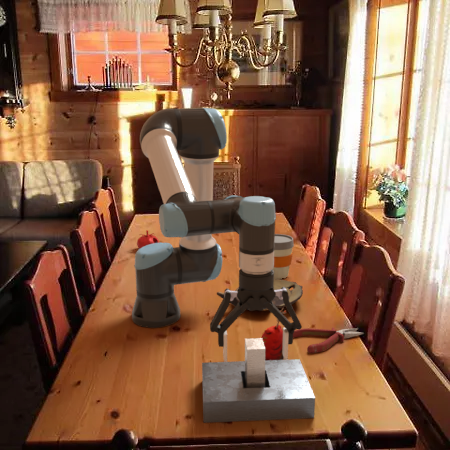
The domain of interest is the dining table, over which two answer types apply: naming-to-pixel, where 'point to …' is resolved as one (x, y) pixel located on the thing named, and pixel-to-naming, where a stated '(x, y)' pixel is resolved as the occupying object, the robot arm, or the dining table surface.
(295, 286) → the broken bowl
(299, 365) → the bracket head
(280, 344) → the red clay folk toy
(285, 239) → the reusable coffee cup
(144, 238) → the pomegranate
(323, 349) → the pliers
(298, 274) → the dining table surface
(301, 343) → the dining table surface
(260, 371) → the white tall block
